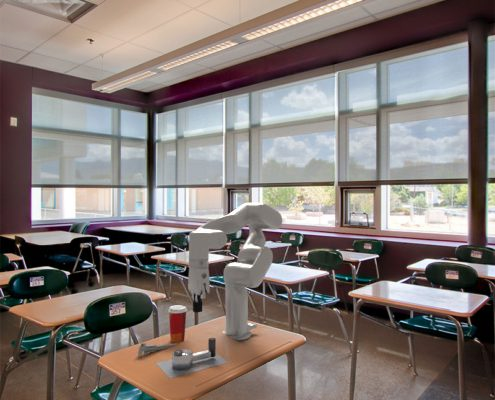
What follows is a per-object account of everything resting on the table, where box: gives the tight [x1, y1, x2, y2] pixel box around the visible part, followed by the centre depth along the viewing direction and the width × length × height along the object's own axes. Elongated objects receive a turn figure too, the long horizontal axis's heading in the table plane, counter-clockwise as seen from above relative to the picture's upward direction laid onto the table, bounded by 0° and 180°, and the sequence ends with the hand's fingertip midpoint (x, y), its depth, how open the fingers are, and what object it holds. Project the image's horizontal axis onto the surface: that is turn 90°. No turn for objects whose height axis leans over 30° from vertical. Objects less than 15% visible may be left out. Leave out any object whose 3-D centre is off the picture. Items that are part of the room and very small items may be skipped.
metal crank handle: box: [171, 337, 217, 370], centre depth 132 cm, size 16×7×7 cm, turn 123°
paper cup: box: [167, 304, 188, 344], centre depth 156 cm, size 8×8×14 cm
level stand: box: [155, 352, 229, 379], centre depth 132 cm, size 22×13×2 cm, turn 123°
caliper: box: [137, 342, 178, 358], centre depth 144 cm, size 20×1×6 cm, turn 136°
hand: (197, 311), depth 143 cm, fingers closed
